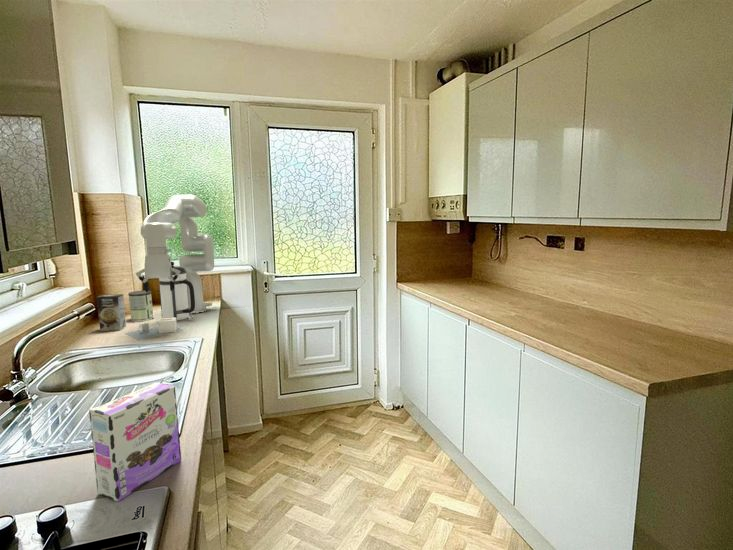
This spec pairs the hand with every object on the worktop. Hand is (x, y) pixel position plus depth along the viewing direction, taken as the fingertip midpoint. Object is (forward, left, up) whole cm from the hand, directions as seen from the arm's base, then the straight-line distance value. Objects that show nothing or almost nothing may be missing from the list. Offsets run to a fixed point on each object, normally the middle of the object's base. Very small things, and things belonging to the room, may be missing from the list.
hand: (159, 291), depth 174 cm
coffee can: (-5, -39, -20) cm, 44 cm away
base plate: (+3, -2, -20) cm, 20 cm away
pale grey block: (+6, -4, -18) cm, 20 cm away
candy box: (+44, +101, -20) cm, 111 cm away
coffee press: (-15, -19, -20) cm, 31 cm away
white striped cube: (-2, +1, -18) cm, 18 cm away
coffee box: (+11, -29, -20) cm, 37 cm away
